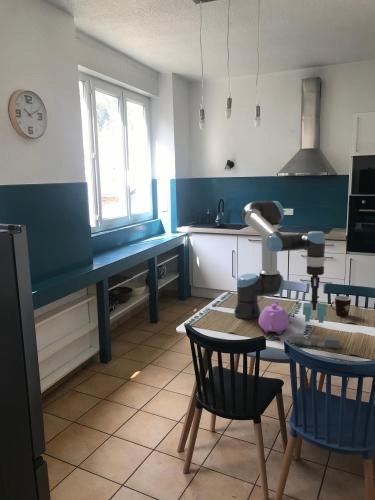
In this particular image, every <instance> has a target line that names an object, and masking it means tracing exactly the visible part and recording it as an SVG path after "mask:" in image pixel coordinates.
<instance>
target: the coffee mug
mask: <svg viewBox="0 0 375 500" xmlns="http://www.w3.org/2000/svg"><path fill="white" fill-rule="evenodd" d="M351 302H352V298H351V297H349V296H345V295H337V296H334V301H332V302H331V303H330V308H331V309H332V310H334V311H335V315H336V316H337V317H339V316H340V318H347V317H349V313H350V308H351ZM334 303H335V305H334ZM333 305H334V306H335V308H334V307H333Z"/></svg>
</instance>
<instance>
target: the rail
mask: <svg viewBox="0 0 375 500" xmlns="http://www.w3.org/2000/svg"><path fill="white" fill-rule="evenodd" d="M310 338H311V339H310V341H309V340H305V334H304V333H301V332H300V333H299V332H290V333H289V343H290V342H291V343H292V344H291V345H297V346H299V345H300V346H309V347H318V348H325V349H335V350H339V349H340V344H341V343H340V341H341V340H340V337H339V336H329V335H324V342H318V335H317V334H311V337H310Z"/></svg>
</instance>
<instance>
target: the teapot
mask: <svg viewBox="0 0 375 500" xmlns="http://www.w3.org/2000/svg"><path fill="white" fill-rule="evenodd" d="M258 325H259V326H260V328H262V329H263V333H264V332H265V334H268V333H270V332H275V333H276V334H277V335H282V334H283V332H284V331H286V329H288V328H289V326H290V318H289V316H288V313H287V312H286V310H285V309H284V307H282V306H280V305H279V299H278V298H274V302H273V303H271V305H267V306H265V307H264V308H263V310H262V311H261V314H260V317H259V318H258Z"/></svg>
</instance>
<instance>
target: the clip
mask: <svg viewBox="0 0 375 500" xmlns="http://www.w3.org/2000/svg"><path fill="white" fill-rule="evenodd" d="M302 316H304V322H307V323H310V321H311V317H312V316H311V303H310V302H303V304H302ZM317 317H318V323H320V324H324V317H325V318H326V317H327V304H326V303H318V305H317Z"/></svg>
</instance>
